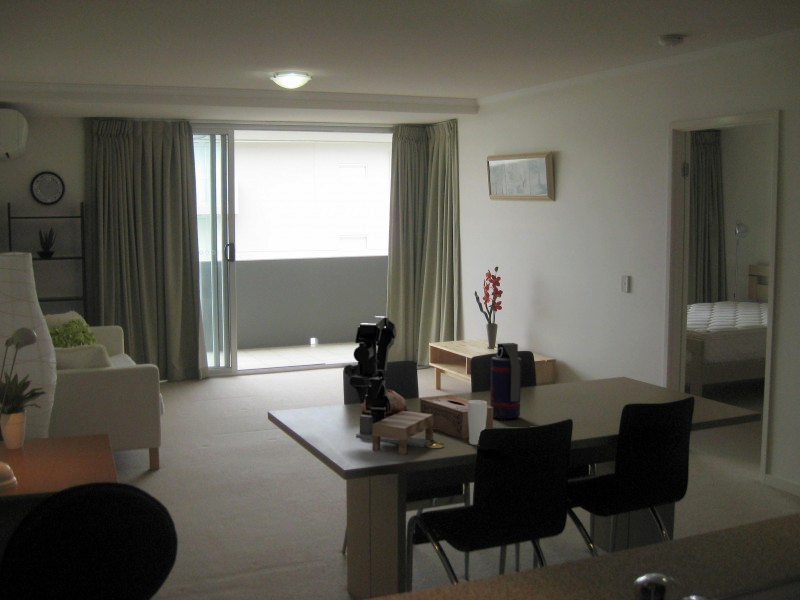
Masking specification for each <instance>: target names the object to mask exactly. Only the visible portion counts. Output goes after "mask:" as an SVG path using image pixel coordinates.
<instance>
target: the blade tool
mask: <svg viewBox="0 0 800 600" xmlns="http://www.w3.org/2000/svg"><path fill="white" fill-rule="evenodd" d="M358 437H360V439H365V438H367V439H366V440H371V439H373V416H370V414H369V415H368V414H361V415H359V432H358V433H356V434H355V438H358ZM385 441H387V442H386V443H391V442H395V443H394V444H398V443H399V439H392V438H385V437H381V439H380V442H385ZM428 442H431V440H426V439H424V438H417V437H413V436H412V437H410V438H408V439H407V444H409V445H408V446H412V445H414V446H413V447H418V446H421V447H420V448H424V447H426V446H427V443H428ZM425 445H426V446H425ZM423 446H424V447H423Z"/></svg>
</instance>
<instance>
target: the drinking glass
mask: <svg viewBox="0 0 800 600" xmlns="http://www.w3.org/2000/svg"><path fill="white" fill-rule="evenodd" d="M469 400H470V399H469ZM487 406H488V402H487V401H486V400H483V399H471V400H470V401H468V427H469V437H468V443H469V445H471V446H478V445H477V444H478V440H479V436H480V432H481V431H482V430H484V429H485V427H486V418H487Z"/></svg>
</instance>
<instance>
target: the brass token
mask: <svg viewBox="0 0 800 600" xmlns="http://www.w3.org/2000/svg"><path fill="white" fill-rule="evenodd" d="M428 447H429V449H433V448H439V449H443V448H444V447H445V445H444V443H443V442H442V441H441V442H440V441H430V442H428V443H427V445H426V448H428ZM442 447H443V448H442Z"/></svg>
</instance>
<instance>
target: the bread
mask: <svg viewBox="0 0 800 600" xmlns="http://www.w3.org/2000/svg"><path fill="white" fill-rule="evenodd" d="M386 390H387V392H388V397H389V400H390V404H391V411H388V412H386V416H392V415H394V414H397V413H399V412H401V411H406V410H407V409H408V404H407V401H406V399H405V398H404V397H403V396H401V395H400V394H399V393H397V392H396V391H394V390H391V389H386ZM360 407H361V410H362V411H363V413H365V414H367V415H368V414H369V415H370V413H371V411H366V405H365V401H364V403H363V404H362V403H361V406H360Z"/></svg>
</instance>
